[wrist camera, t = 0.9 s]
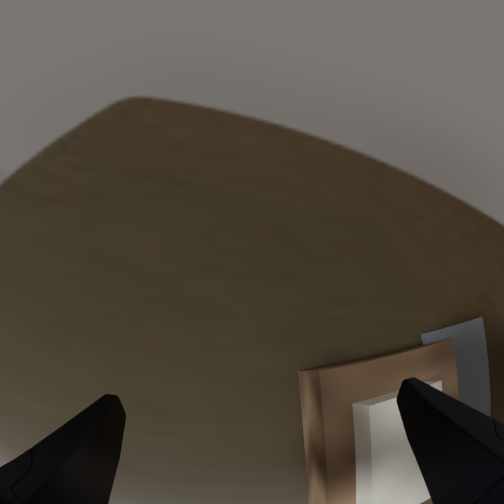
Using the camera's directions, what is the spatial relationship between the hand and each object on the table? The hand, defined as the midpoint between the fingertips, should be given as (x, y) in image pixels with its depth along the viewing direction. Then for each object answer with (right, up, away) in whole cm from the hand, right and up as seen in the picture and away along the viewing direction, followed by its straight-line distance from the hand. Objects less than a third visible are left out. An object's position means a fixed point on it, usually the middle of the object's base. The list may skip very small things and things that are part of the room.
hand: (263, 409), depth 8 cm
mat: (+20, -10, +12) cm, 26 cm away
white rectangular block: (+9, -9, +7) cm, 14 cm away
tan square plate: (+9, -10, +10) cm, 17 cm away
